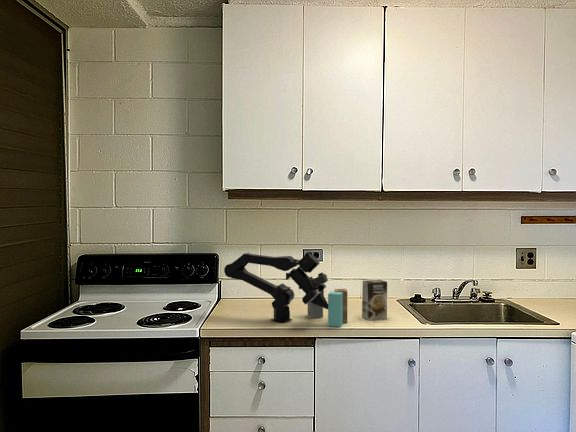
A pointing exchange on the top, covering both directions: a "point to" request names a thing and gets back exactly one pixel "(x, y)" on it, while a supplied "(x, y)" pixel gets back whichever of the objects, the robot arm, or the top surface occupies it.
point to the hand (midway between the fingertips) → (328, 308)
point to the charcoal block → (314, 310)
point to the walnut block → (344, 303)
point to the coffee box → (374, 299)
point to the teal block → (335, 309)
